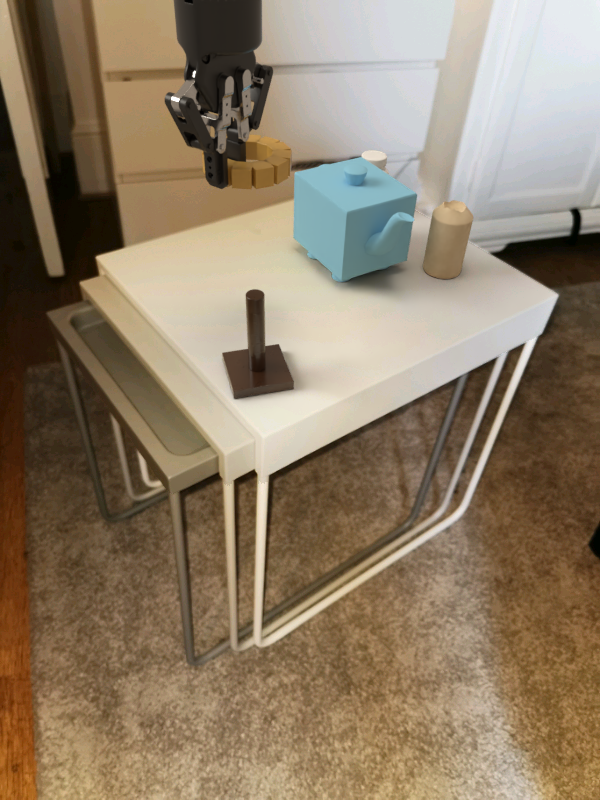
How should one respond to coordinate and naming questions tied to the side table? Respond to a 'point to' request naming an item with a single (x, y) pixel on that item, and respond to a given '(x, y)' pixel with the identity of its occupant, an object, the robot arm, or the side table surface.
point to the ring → (260, 164)
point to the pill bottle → (376, 159)
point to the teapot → (352, 217)
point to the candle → (447, 239)
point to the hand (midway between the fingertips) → (226, 180)
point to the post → (256, 357)
